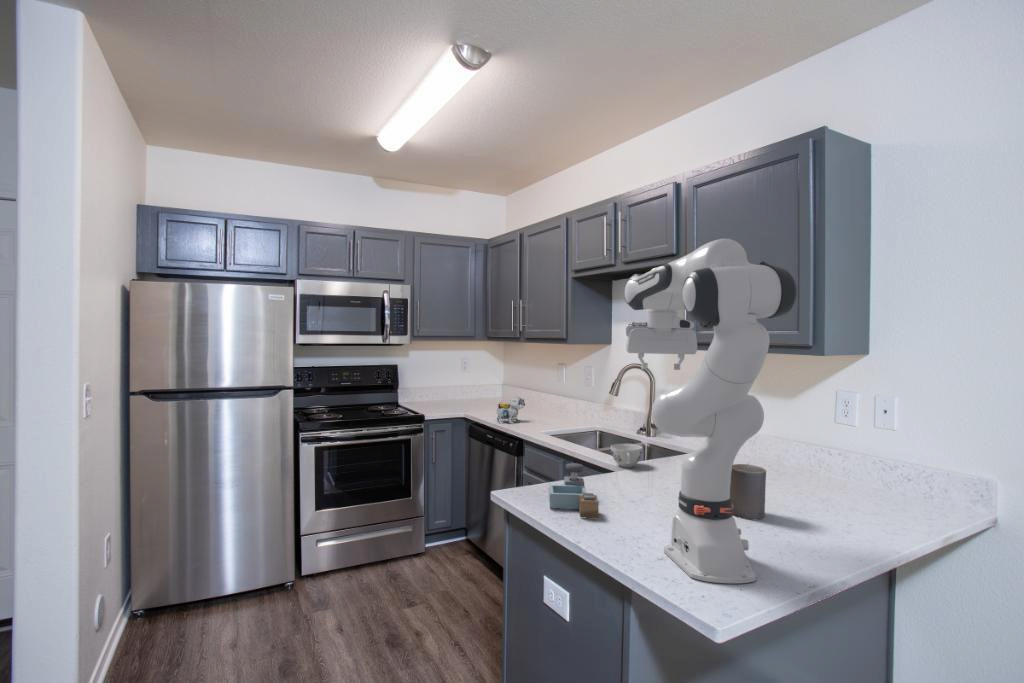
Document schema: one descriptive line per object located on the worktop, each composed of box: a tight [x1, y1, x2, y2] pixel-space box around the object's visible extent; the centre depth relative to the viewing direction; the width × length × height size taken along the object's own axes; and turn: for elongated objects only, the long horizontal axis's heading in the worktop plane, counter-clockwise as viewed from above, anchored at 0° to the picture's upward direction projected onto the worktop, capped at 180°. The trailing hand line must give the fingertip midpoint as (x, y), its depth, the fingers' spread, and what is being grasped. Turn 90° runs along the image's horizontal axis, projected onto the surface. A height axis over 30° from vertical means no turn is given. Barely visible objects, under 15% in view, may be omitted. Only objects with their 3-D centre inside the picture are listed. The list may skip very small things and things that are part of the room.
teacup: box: [610, 443, 644, 469], centre depth 209 cm, size 15×12×8 cm
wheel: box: [565, 462, 584, 481], centre depth 169 cm, size 6×6×5 cm
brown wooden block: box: [578, 492, 600, 519], centre depth 152 cm, size 6×5×6 cm
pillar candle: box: [730, 463, 767, 520], centre depth 155 cm, size 10×10×15 cm
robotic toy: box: [496, 396, 526, 424], centre depth 309 cm, size 13×17×15 cm
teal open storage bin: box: [548, 476, 588, 510], centre depth 164 cm, size 16×12×6 cm
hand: (660, 369), depth 155 cm, fingers open, 8 cm apart
